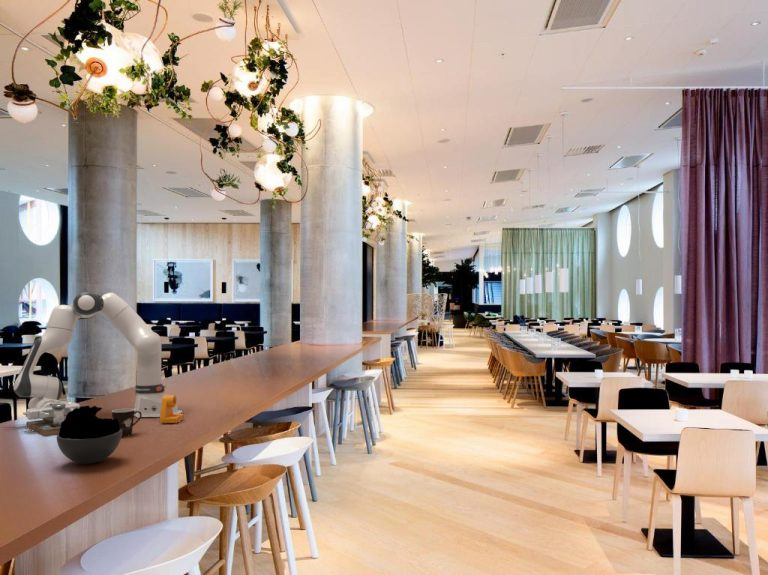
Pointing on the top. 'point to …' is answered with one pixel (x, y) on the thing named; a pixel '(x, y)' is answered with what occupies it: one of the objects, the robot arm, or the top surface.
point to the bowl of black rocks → (88, 435)
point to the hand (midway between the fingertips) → (59, 413)
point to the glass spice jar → (58, 414)
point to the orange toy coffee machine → (169, 410)
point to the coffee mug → (125, 419)
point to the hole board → (43, 427)
